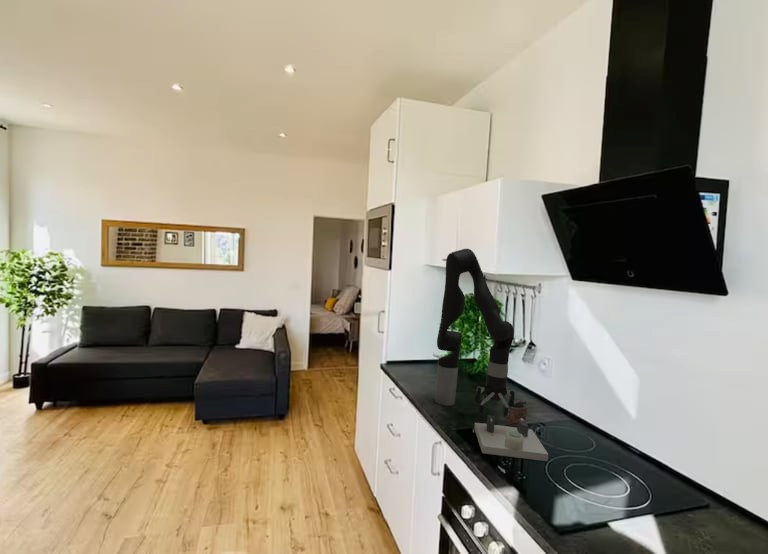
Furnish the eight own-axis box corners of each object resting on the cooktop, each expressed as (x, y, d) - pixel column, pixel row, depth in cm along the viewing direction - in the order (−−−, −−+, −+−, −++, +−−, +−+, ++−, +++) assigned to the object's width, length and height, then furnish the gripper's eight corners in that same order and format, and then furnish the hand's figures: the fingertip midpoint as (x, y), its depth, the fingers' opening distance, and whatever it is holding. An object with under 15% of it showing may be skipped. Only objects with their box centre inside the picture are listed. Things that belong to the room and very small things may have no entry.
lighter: (510, 426, 164) (513, 402, 163) (506, 422, 167) (508, 399, 167) (527, 425, 166) (530, 402, 165) (522, 422, 169) (525, 399, 169)
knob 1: (493, 426, 155) (494, 415, 155) (493, 432, 149) (494, 421, 149) (486, 425, 156) (487, 414, 155) (487, 431, 150) (488, 419, 150)
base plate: (474, 428, 158) (476, 411, 158) (531, 435, 156) (533, 417, 156) (482, 453, 138) (484, 433, 138) (547, 461, 136) (549, 441, 136)
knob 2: (520, 435, 149) (522, 424, 148) (516, 428, 155) (518, 417, 154) (527, 436, 148) (528, 424, 148) (523, 429, 154) (524, 418, 154)
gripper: (480, 374, 148) (475, 417, 149) (518, 378, 147) (514, 421, 149) (476, 368, 156) (472, 409, 157) (513, 372, 155) (509, 413, 156)
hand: (492, 415), depth 153 cm, fingers open, 8 cm apart
